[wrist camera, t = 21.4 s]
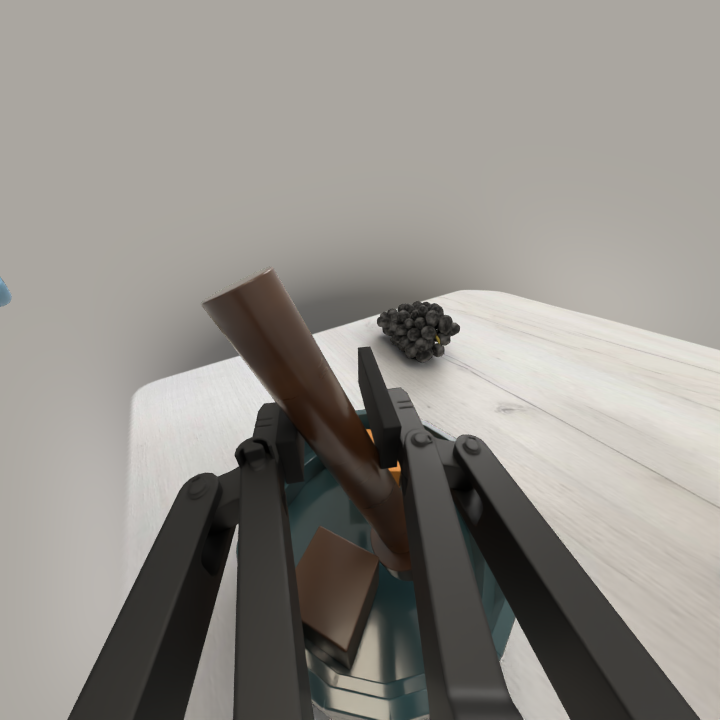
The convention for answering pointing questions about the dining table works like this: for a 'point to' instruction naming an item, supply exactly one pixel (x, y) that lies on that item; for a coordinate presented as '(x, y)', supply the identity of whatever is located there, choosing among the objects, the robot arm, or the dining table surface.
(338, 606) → the walnut block
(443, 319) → the fruit
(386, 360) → the dining table surface
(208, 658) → the dining table surface
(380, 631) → the bowl
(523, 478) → the dining table surface
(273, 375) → the stir stick
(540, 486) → the dining table surface
